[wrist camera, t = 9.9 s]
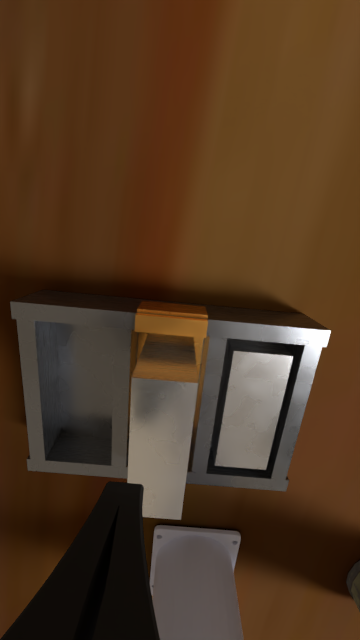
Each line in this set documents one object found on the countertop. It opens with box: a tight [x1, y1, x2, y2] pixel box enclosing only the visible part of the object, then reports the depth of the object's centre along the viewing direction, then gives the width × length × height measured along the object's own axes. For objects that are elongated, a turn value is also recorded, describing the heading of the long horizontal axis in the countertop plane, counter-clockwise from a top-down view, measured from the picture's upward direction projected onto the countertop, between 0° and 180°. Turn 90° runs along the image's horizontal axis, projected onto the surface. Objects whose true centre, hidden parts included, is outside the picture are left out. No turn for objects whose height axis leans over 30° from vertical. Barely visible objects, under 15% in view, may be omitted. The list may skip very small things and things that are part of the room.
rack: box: [10, 290, 331, 491], centre depth 18 cm, size 12×18×4 cm
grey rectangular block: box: [127, 333, 198, 520], centre depth 16 cm, size 8×3×6 cm, turn 175°
